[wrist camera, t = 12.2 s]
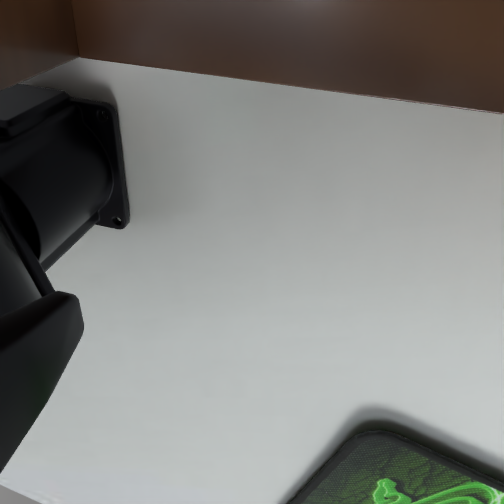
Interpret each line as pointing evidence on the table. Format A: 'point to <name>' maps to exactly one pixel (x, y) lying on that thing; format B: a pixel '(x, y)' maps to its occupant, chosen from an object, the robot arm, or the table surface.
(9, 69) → the shelf
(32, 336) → the robot arm
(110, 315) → the table surface
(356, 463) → the mouse mat
